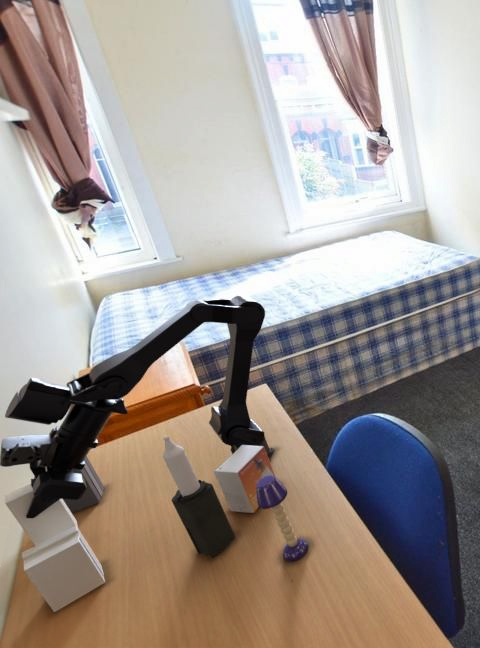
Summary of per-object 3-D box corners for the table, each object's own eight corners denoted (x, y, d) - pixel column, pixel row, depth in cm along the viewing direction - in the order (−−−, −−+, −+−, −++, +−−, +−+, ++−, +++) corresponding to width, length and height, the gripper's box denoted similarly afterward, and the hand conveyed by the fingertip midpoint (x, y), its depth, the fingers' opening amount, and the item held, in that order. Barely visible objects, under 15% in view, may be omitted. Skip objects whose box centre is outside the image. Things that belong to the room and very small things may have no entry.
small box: (253, 514, 93) (236, 473, 89) (230, 511, 94) (212, 471, 90) (279, 484, 100) (264, 445, 96) (257, 482, 101) (241, 443, 97)
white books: (101, 564, 85) (76, 525, 81) (106, 582, 82) (80, 541, 78) (50, 593, 81) (21, 552, 77) (53, 612, 77) (23, 571, 73)
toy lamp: (280, 567, 81) (250, 495, 75) (279, 547, 85) (250, 477, 78) (309, 554, 83) (282, 483, 77) (307, 535, 87) (281, 466, 80)
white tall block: (76, 520, 88) (48, 475, 83) (78, 529, 86) (49, 483, 81) (36, 540, 84) (4, 494, 80) (37, 549, 82) (4, 503, 78)
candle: (238, 535, 89) (190, 428, 79) (214, 558, 84) (161, 448, 74) (218, 530, 90) (169, 424, 80) (194, 552, 86) (139, 443, 76)
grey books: (104, 487, 104) (84, 452, 100) (100, 502, 100) (78, 466, 96) (64, 501, 101) (42, 465, 97) (58, 517, 97) (34, 481, 93)
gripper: (20, 400, 84) (-33, 482, 82) (23, 441, 72) (-40, 540, 69) (94, 414, 93) (48, 489, 90) (108, 454, 80) (55, 542, 78)
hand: (29, 512), depth 81 cm, fingers closed on white tall block, 3 cm apart
